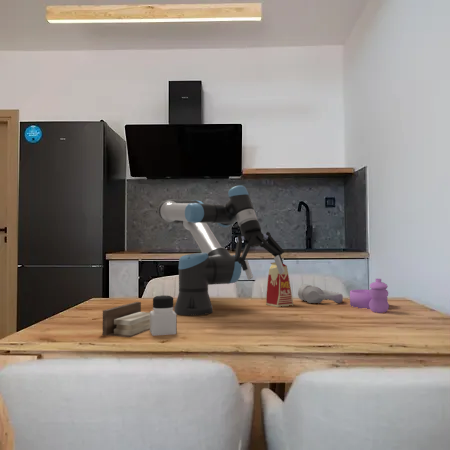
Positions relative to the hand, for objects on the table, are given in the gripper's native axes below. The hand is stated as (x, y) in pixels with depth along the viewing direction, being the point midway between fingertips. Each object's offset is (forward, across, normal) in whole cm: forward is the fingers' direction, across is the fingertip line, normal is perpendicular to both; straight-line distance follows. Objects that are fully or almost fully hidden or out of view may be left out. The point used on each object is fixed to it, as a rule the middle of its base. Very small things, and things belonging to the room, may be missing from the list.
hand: (266, 275), depth 147 cm
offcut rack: (+9, -49, +7) cm, 50 cm away
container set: (+19, +52, +11) cm, 56 cm away
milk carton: (+5, +22, +32) cm, 40 cm away
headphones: (+8, +44, +32) cm, 55 cm away
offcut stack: (+8, -48, +6) cm, 49 cm away
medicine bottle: (+13, -42, 0) cm, 44 cm away
